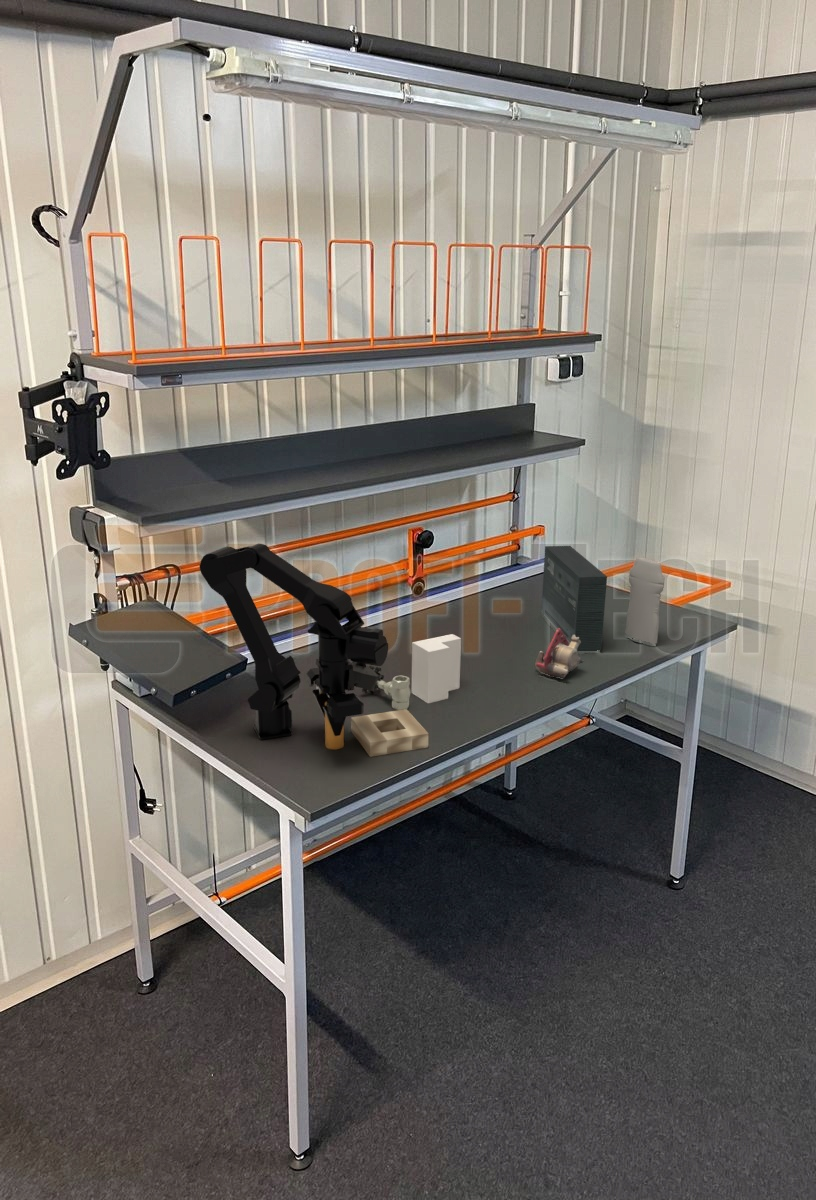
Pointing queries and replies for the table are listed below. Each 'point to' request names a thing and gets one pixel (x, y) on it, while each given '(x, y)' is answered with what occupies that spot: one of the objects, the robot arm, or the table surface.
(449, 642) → the corner bracket
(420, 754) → the table surface
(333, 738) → the peg
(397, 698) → the valve
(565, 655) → the brake caliper
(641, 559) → the tall pale column
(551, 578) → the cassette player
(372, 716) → the socket block
